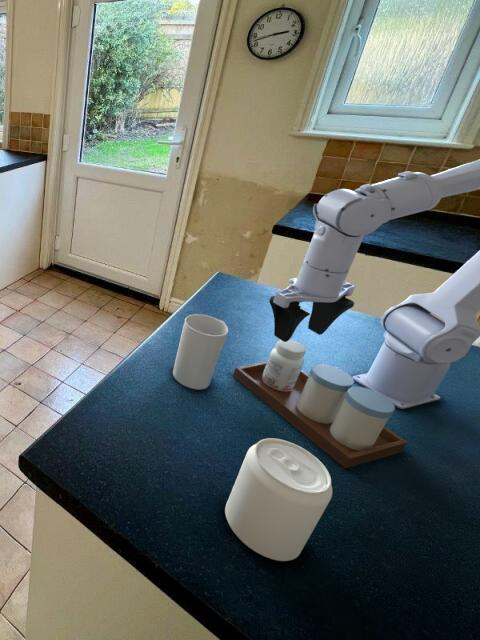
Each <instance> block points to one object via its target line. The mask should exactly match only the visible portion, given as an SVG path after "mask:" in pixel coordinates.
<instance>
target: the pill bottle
mask: <svg viewBox="0 0 480 640" xmlns="http://www.w3.org/2000/svg"><path fill="white" fill-rule="evenodd" d="M306 350H307V349H306V347H305V346H304V344H302V343H300V342H298V341H296V340H294V339H291V338H290V339H289V341H287V342H284V341H282V340H280V339H278V340H277V342H276V344H275V347H274V348H273V349H272V350H271V351H270V354H269V357H268V359H267V361H268V362H267V364H266V367H265V370H264V372H263V375H262V379H263V381H264V383H265V384H266V385H268V386H269V387H271V388H273V389H276V390H279V391H283V392H288V391H291V390H292V389H293V388H294V386H295V383H296V381H297V378H298V376H299V374H300V371H301V370H303V369H302V368H303V366H304V363H305V360H304V356H305V353H306Z"/></svg>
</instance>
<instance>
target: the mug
mask: <svg viewBox="0 0 480 640" xmlns="http://www.w3.org/2000/svg"><path fill="white" fill-rule="evenodd" d="M228 333H229V327H228V326H227V322H226V321H224V320H221V319H219V318H216V317H214V316H210V315H207V314H202V313H194V314H189V315H187V316H186V317H185V318H184V323H183V326H182V331H181V334H180V340H179V343H178V348H177V352H176V357H175V361H174V365H173V370H172V377H173V378H174V379H175V380H176V382H177V383H179V384H181V385H182V386H184V387H186V388H189V389H192V390H205V389H207V388H208V387H209V386H210V384H211V383H212V379H213V376H214V373H215V371H216V368H217V365H218V362H219V360H220V357H221V353H222V352H223V351H222V350H223V348H224V345H225V342H226V339H227V337H228Z"/></svg>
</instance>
